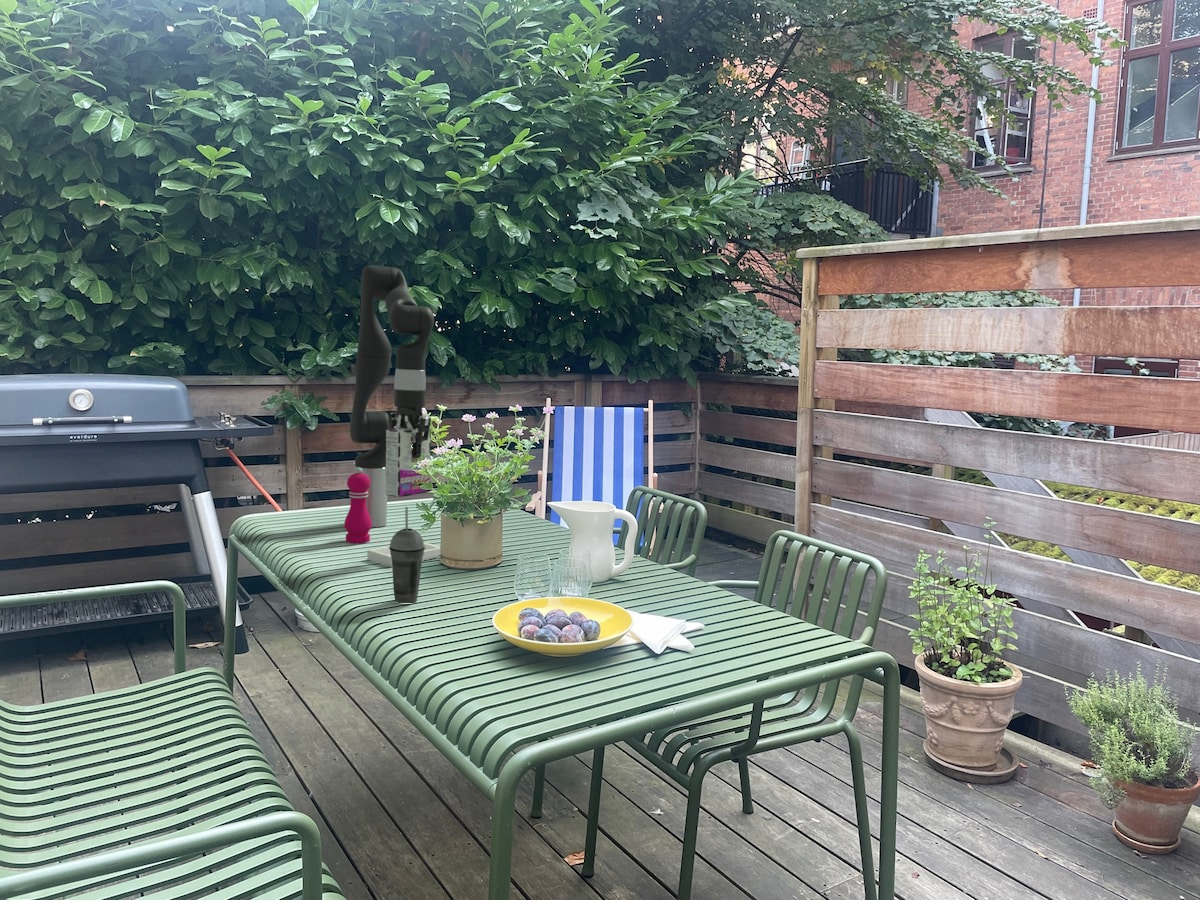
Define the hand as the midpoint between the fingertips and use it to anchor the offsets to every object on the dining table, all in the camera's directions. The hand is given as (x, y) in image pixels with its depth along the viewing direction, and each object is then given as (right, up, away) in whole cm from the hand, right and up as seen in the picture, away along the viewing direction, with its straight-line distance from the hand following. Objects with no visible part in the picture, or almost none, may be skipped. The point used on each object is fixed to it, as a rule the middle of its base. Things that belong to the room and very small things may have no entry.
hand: (408, 456), depth 218 cm
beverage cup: (+7, -31, -33) cm, 45 cm away
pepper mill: (-18, -23, +19) cm, 35 cm away
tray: (-1, -26, +3) cm, 26 cm away
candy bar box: (0, -10, +1) cm, 10 cm away
